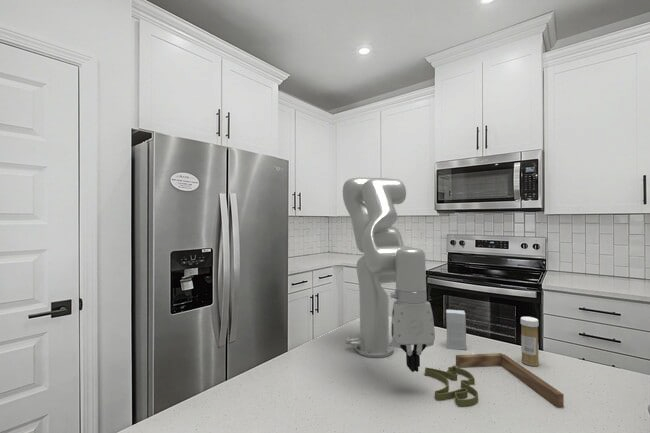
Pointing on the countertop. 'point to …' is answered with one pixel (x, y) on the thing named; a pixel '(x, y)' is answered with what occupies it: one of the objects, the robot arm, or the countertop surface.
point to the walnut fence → (516, 370)
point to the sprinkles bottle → (529, 341)
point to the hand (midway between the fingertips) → (413, 369)
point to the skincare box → (456, 329)
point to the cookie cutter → (456, 394)
